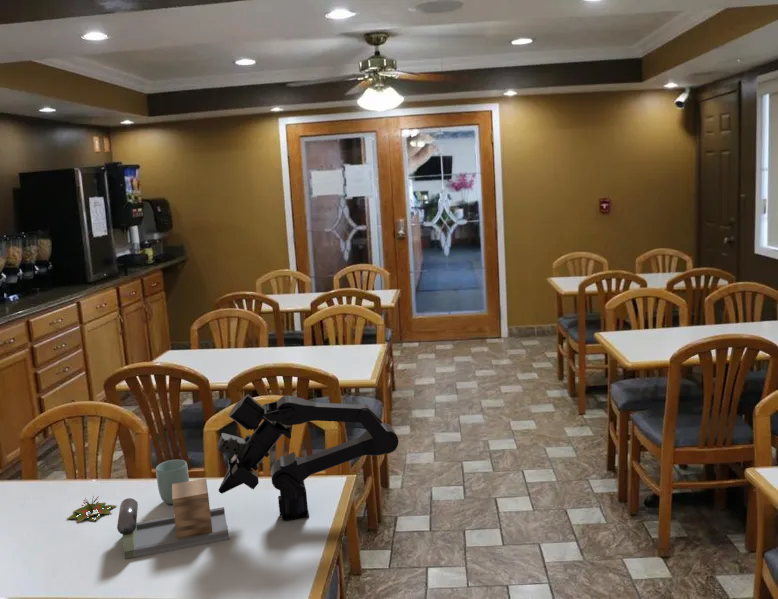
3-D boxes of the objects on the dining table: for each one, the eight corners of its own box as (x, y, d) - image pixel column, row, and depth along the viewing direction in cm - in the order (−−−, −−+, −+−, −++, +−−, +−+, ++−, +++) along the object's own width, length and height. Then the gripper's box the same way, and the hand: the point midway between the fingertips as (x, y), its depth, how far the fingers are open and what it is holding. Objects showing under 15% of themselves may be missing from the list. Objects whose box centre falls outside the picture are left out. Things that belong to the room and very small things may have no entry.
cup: (182, 508, 191) (178, 471, 189) (154, 507, 192) (150, 470, 190) (196, 495, 198) (191, 459, 196) (169, 494, 200) (164, 459, 198)
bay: (224, 513, 186) (221, 479, 184) (229, 539, 173) (225, 503, 171) (124, 532, 179) (119, 497, 178) (120, 560, 166) (115, 522, 165)
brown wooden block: (210, 516, 182) (206, 478, 181) (212, 533, 174) (208, 493, 172) (176, 522, 180) (172, 483, 179) (177, 539, 172) (172, 499, 170)
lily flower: (87, 502, 199) (85, 486, 198) (126, 505, 195) (124, 488, 195) (56, 524, 187) (54, 507, 186) (97, 527, 184) (95, 509, 183)
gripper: (232, 410, 185) (191, 459, 184) (238, 434, 167) (193, 489, 166) (267, 435, 188) (227, 484, 187) (276, 462, 171) (233, 515, 170)
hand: (220, 492), depth 178 cm, fingers closed
